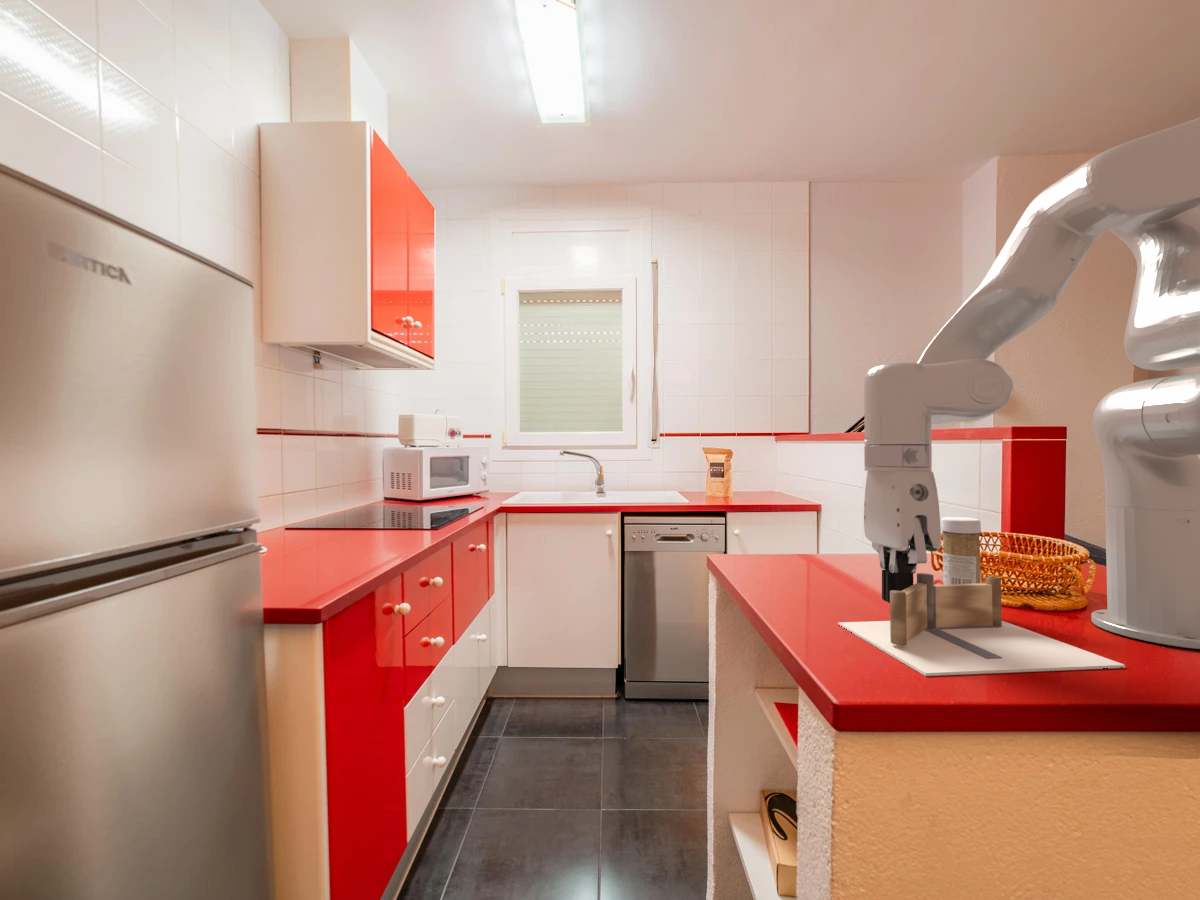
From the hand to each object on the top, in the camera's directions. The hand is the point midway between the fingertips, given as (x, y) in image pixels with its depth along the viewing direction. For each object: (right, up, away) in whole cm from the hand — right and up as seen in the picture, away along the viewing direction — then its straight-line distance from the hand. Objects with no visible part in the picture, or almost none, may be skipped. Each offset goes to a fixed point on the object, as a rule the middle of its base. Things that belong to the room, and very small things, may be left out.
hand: (897, 602), depth 66 cm
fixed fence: (+8, -3, 0) cm, 8 cm away
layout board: (+5, -3, -6) cm, 8 cm away
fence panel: (-1, -3, -5) cm, 5 cm away
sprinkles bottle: (+13, -4, +6) cm, 14 cm away
